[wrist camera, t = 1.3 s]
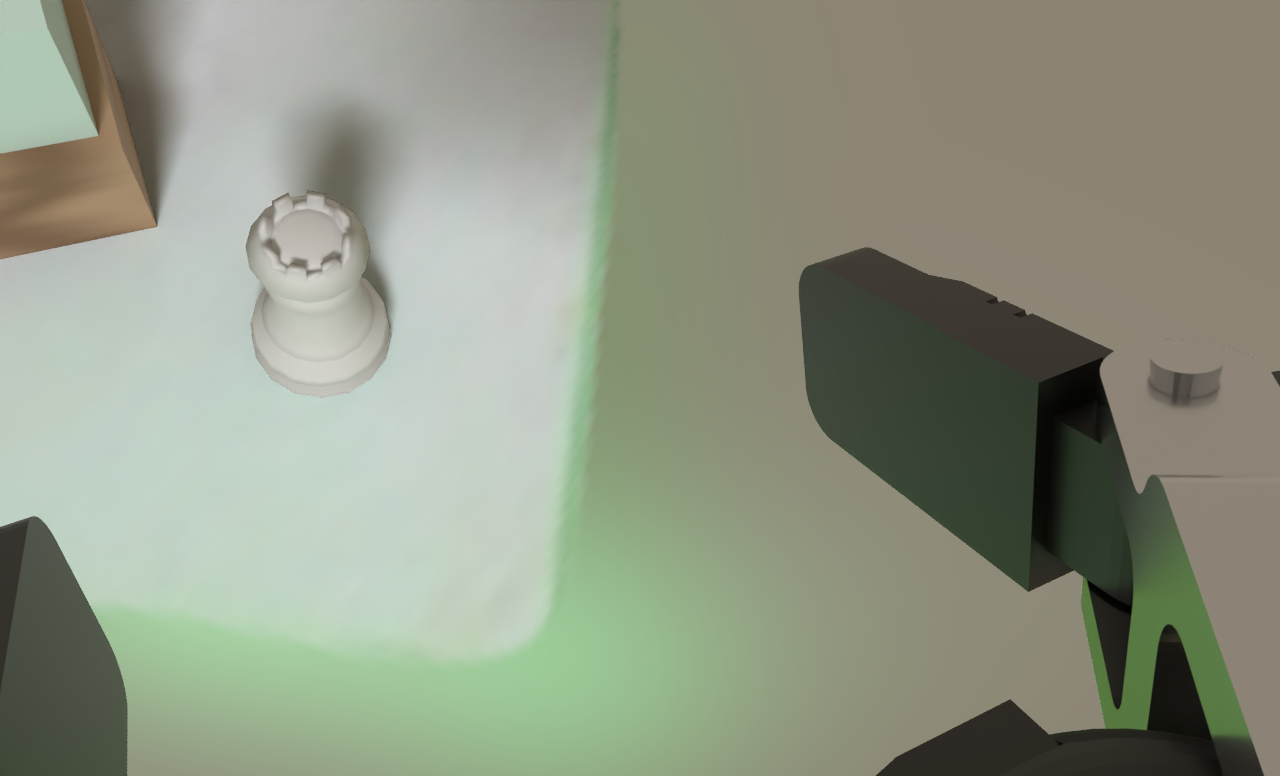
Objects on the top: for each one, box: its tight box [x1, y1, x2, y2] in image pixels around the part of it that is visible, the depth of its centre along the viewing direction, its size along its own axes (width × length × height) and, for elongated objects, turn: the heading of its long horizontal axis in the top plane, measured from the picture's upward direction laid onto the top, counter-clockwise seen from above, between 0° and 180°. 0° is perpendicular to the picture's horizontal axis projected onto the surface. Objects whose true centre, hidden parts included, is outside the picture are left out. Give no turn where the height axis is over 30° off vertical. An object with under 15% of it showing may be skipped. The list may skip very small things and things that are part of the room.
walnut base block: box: [0, 0, 157, 259], centre depth 32 cm, size 6×6×5 cm
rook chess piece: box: [246, 190, 391, 398], centre depth 31 cm, size 4×4×8 cm
